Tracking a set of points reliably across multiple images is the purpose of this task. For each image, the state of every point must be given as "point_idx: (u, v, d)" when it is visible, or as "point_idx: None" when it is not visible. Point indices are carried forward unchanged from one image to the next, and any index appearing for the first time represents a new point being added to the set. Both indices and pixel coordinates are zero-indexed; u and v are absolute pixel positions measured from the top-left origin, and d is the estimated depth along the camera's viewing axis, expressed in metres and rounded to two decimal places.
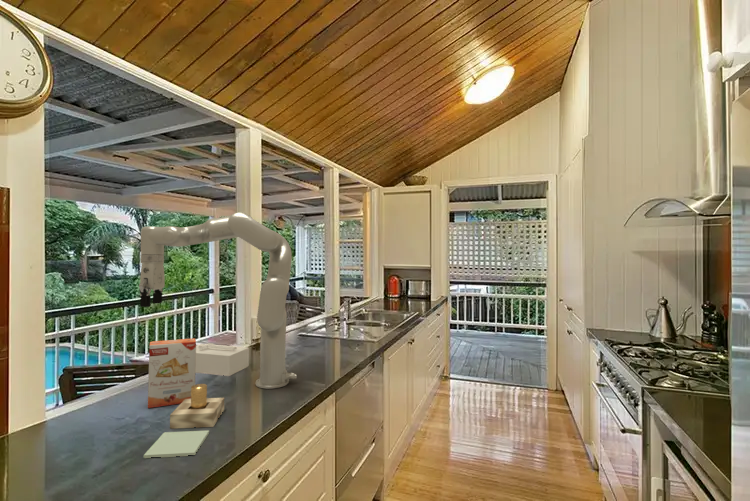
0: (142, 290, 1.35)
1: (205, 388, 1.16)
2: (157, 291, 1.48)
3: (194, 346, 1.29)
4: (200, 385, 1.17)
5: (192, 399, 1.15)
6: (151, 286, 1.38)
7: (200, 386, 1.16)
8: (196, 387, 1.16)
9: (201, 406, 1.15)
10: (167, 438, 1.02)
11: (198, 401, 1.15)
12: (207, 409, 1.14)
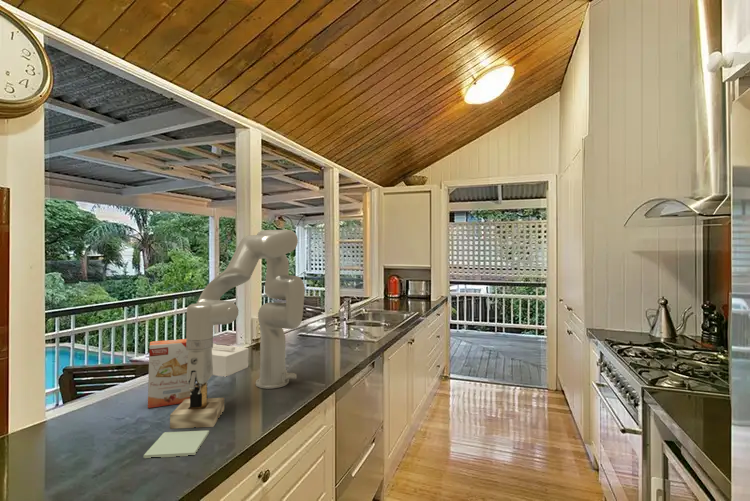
0: None
1: (205, 388, 1.16)
2: None
3: None
4: None
5: None
6: (200, 381, 1.12)
7: None
8: None
9: (201, 406, 1.15)
10: (167, 438, 1.02)
11: None
12: (207, 409, 1.14)
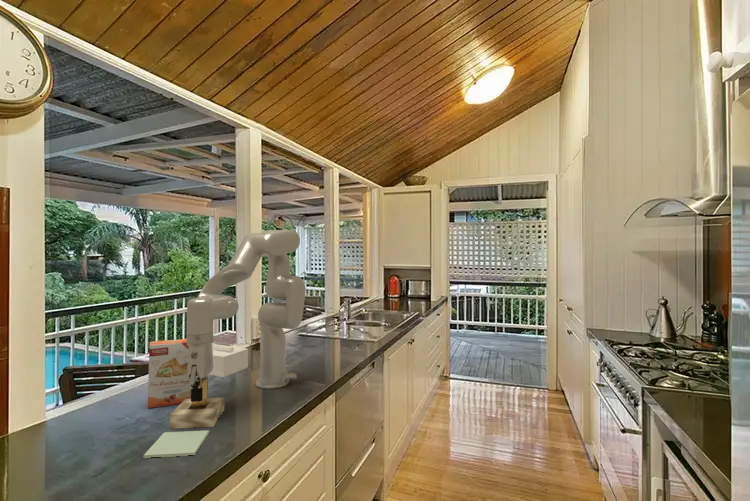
0: None
1: (206, 382, 1.16)
2: None
3: None
4: None
5: None
6: (201, 375, 1.12)
7: None
8: None
9: (202, 400, 1.15)
10: (167, 438, 1.02)
11: None
12: (207, 409, 1.14)
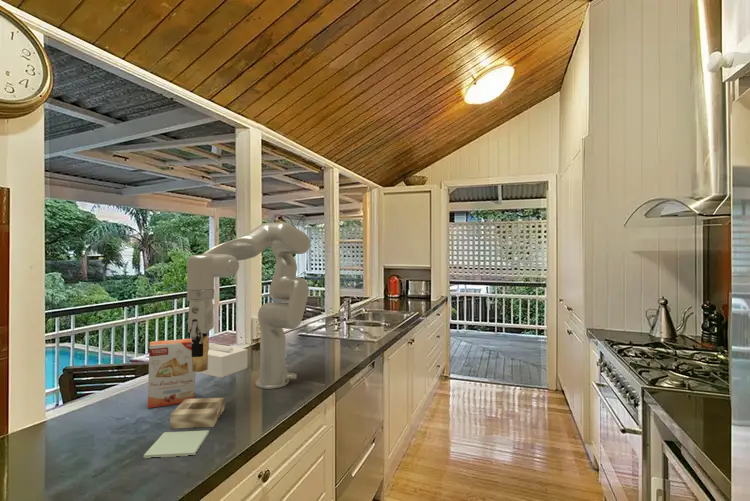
0: None
1: (206, 339, 1.17)
2: None
3: None
4: None
5: None
6: (202, 329, 1.12)
7: None
8: None
9: (203, 356, 1.15)
10: (167, 438, 1.02)
11: None
12: (207, 409, 1.14)
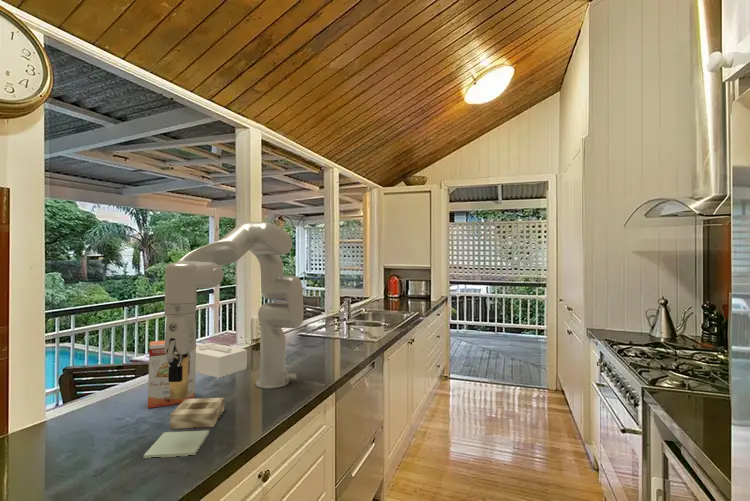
0: None
1: (186, 360, 1.00)
2: None
3: None
4: None
5: None
6: (180, 350, 0.96)
7: None
8: None
9: (182, 381, 0.99)
10: (167, 438, 1.02)
11: None
12: (207, 409, 1.14)
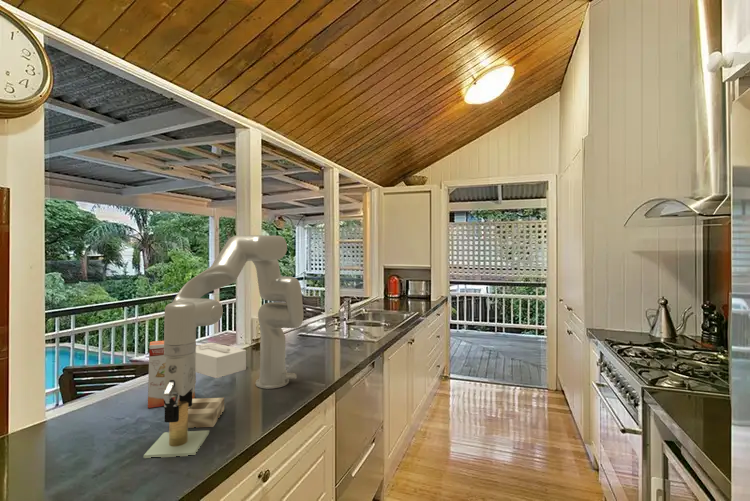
0: (168, 401, 0.93)
1: (186, 407, 1.00)
2: None
3: None
4: (180, 403, 1.01)
5: None
6: (180, 392, 0.96)
7: (180, 404, 1.00)
8: None
9: (181, 428, 0.99)
10: (167, 438, 1.02)
11: (178, 422, 0.99)
12: (207, 409, 1.14)
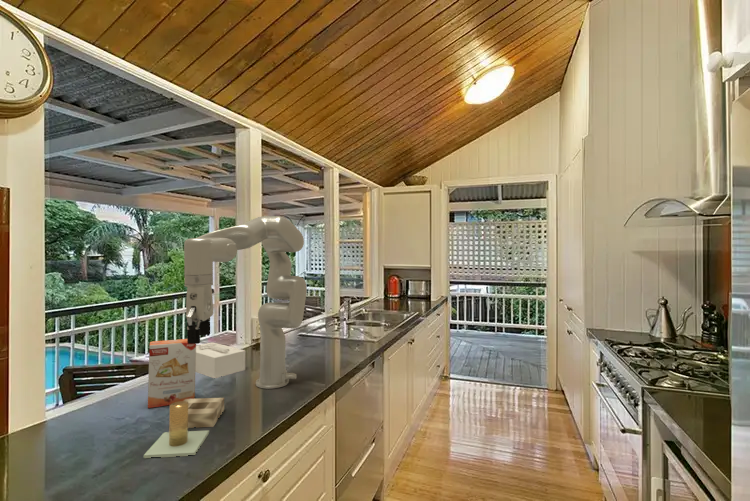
0: (190, 323, 1.03)
1: (186, 407, 1.00)
2: None
3: (194, 346, 1.29)
4: (180, 403, 1.01)
5: (170, 420, 0.99)
6: (201, 317, 1.06)
7: (180, 404, 1.00)
8: (175, 406, 1.00)
9: (181, 428, 0.99)
10: (167, 438, 1.02)
11: (178, 422, 0.99)
12: (207, 409, 1.14)
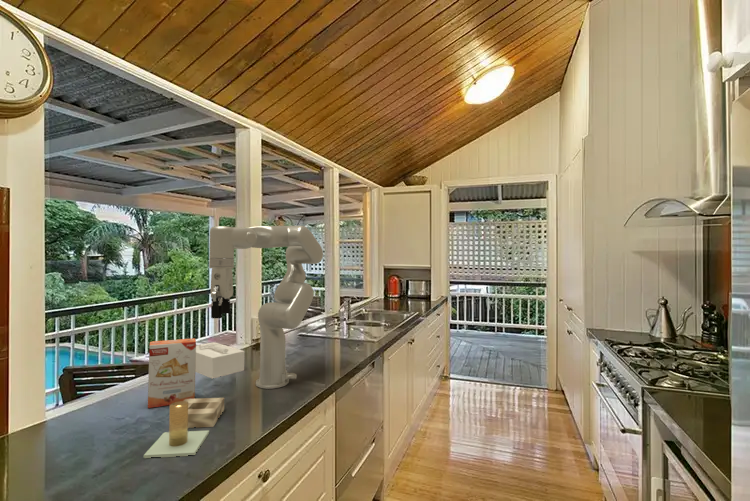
0: (215, 299, 1.18)
1: (186, 407, 1.00)
2: (224, 299, 1.30)
3: (194, 346, 1.29)
4: (180, 403, 1.01)
5: (170, 420, 0.99)
6: (223, 294, 1.21)
7: (180, 404, 1.00)
8: (175, 406, 1.00)
9: (181, 428, 0.99)
10: (167, 438, 1.02)
11: (177, 422, 0.99)
12: (207, 409, 1.14)
